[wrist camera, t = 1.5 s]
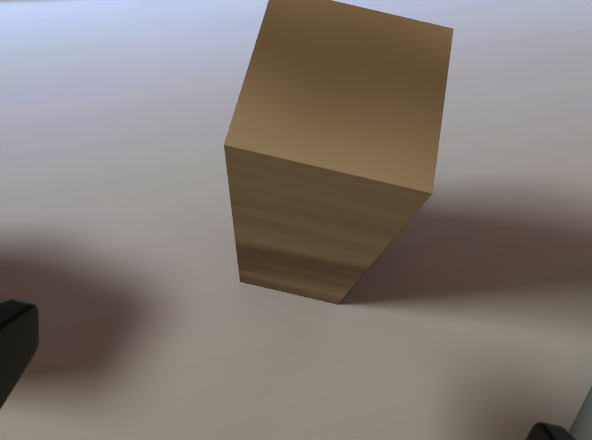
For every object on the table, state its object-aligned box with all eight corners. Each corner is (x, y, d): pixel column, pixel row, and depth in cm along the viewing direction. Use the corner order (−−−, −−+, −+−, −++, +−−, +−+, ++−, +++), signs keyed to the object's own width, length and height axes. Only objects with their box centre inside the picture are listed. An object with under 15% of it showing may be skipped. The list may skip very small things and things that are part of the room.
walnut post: (337, 304, 22) (432, 193, 10) (240, 281, 22) (224, 144, 10) (354, 213, 24) (453, 28, 12) (263, 192, 24) (272, -13, 12)
